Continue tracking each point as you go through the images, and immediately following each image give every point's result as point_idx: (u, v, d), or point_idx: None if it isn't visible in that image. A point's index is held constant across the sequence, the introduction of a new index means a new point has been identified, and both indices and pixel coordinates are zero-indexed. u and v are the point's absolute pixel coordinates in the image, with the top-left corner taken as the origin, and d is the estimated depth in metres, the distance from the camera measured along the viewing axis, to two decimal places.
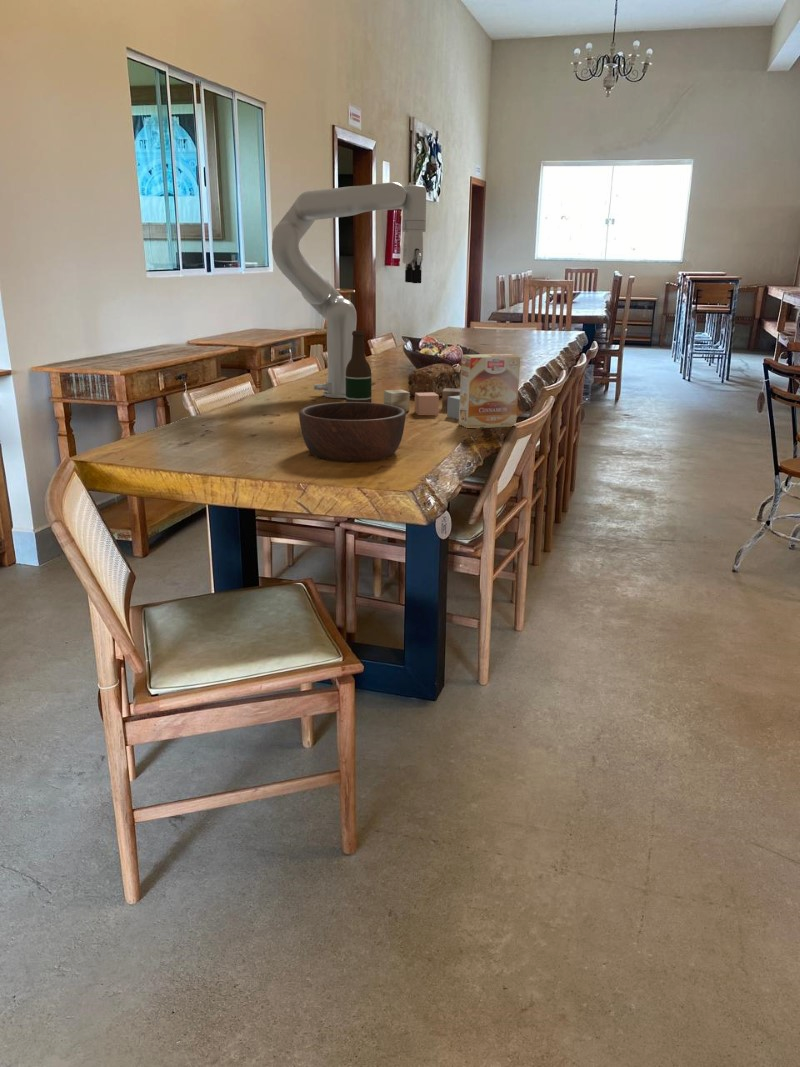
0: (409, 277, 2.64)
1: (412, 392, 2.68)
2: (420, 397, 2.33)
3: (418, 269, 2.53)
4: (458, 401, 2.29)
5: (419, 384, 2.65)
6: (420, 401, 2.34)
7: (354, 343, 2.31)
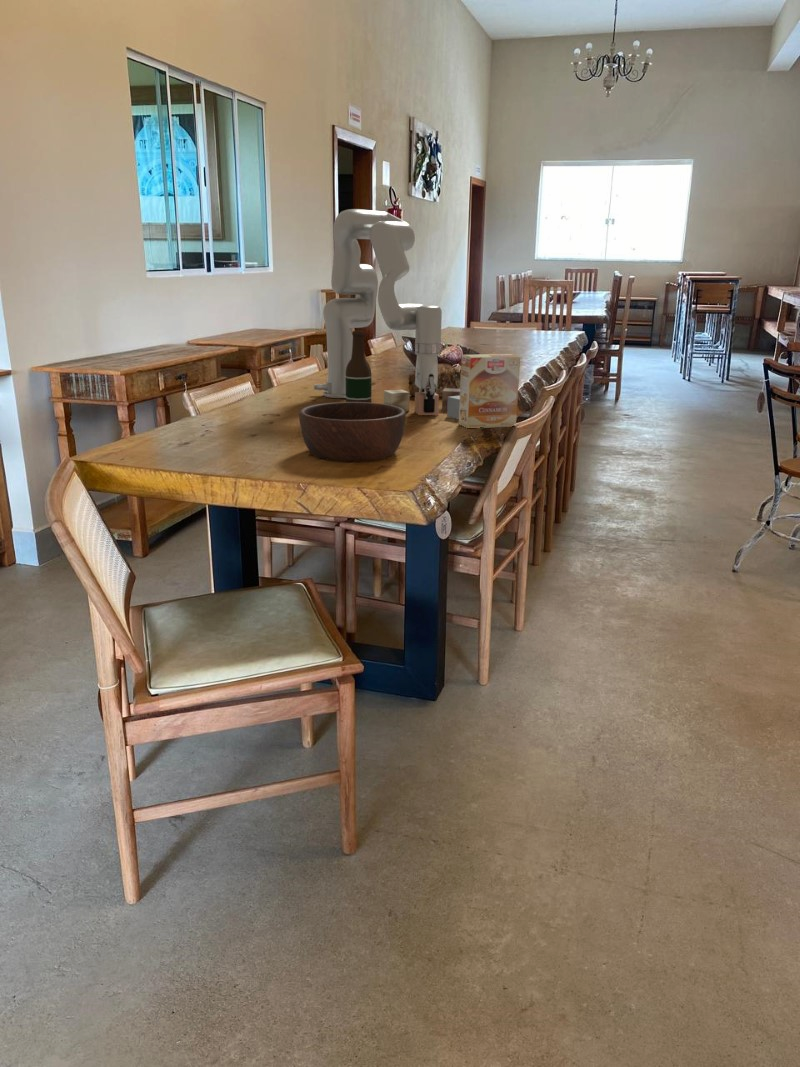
0: None
1: (412, 392, 2.68)
2: (420, 397, 2.33)
3: (431, 399, 2.33)
4: (458, 401, 2.29)
5: None
6: (420, 401, 2.34)
7: (354, 343, 2.31)
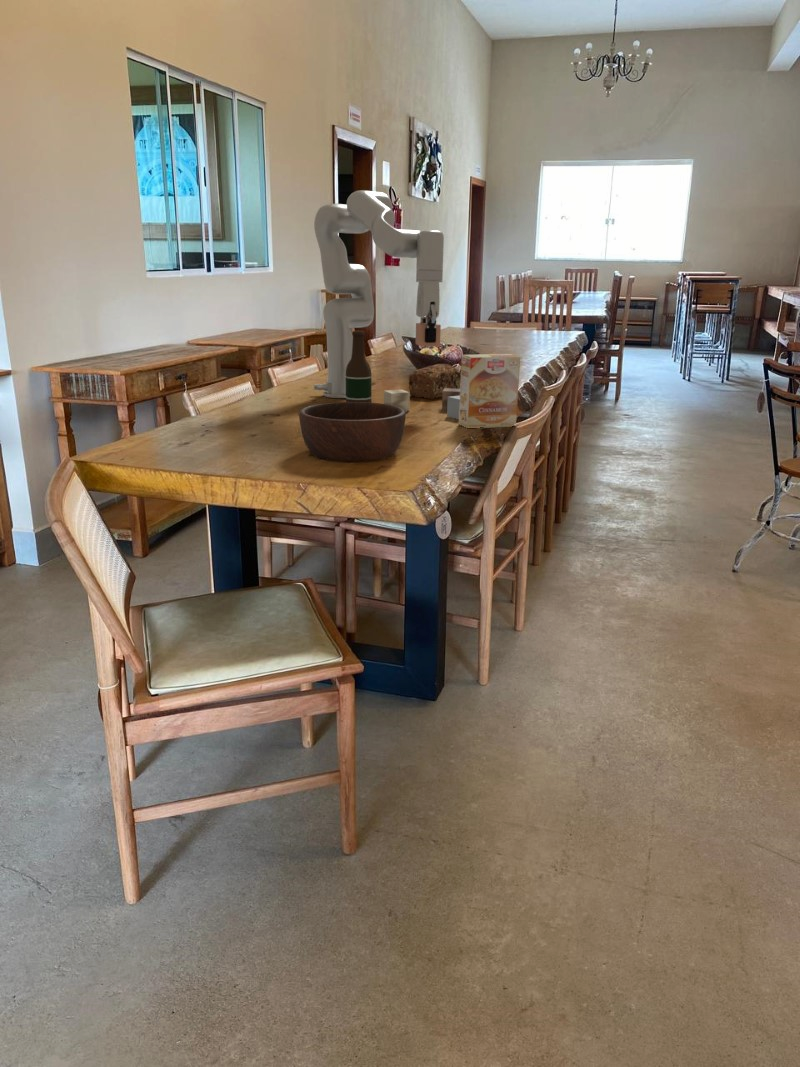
0: None
1: (413, 392, 2.67)
2: (421, 326, 2.27)
3: (432, 328, 2.26)
4: (458, 401, 2.29)
5: (420, 384, 2.65)
6: (421, 330, 2.27)
7: (354, 343, 2.31)
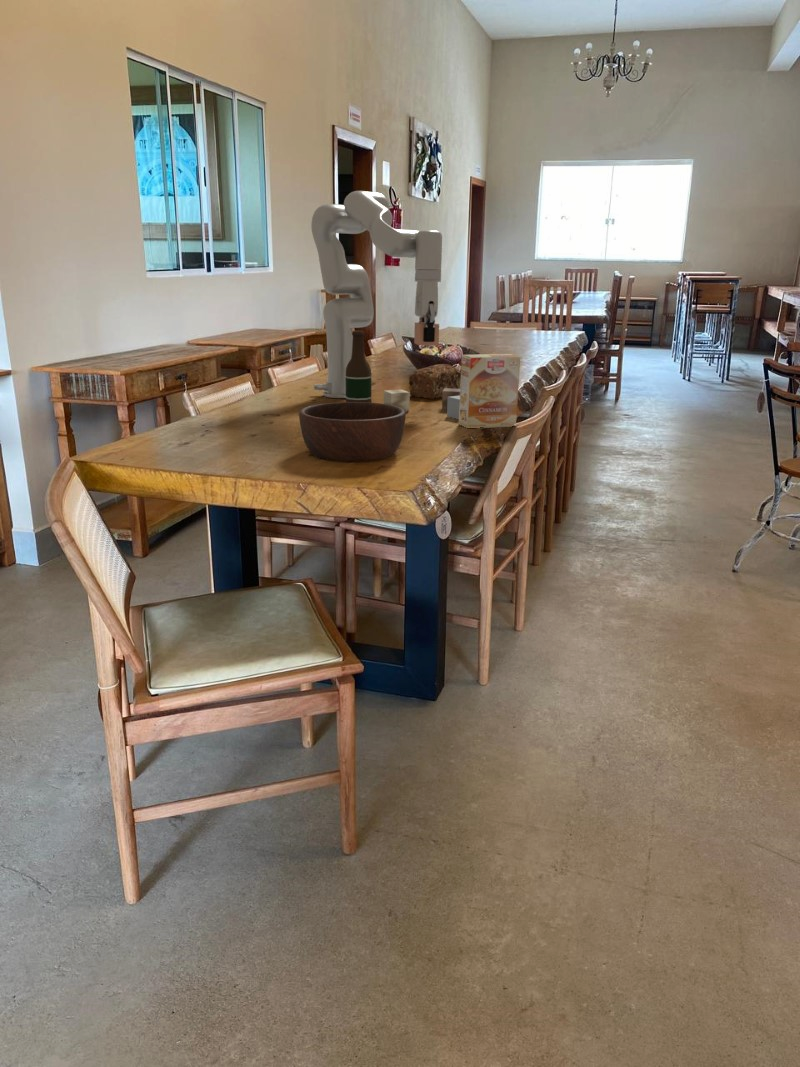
0: None
1: (413, 392, 2.67)
2: (420, 325, 2.29)
3: (431, 327, 2.28)
4: (458, 401, 2.29)
5: (420, 384, 2.65)
6: (420, 329, 2.29)
7: (354, 343, 2.31)
